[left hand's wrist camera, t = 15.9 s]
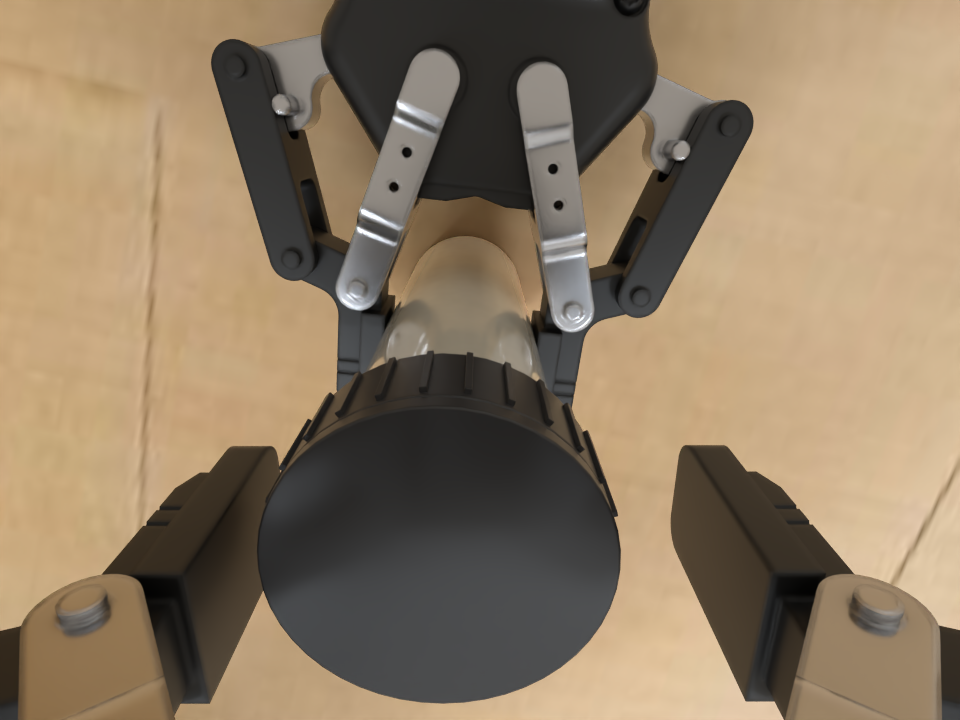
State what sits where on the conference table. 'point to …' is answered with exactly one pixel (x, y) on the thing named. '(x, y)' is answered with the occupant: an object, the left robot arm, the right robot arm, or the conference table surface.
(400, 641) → the lid
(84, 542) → the conference table surface
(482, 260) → the jar
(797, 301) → the conference table surface
